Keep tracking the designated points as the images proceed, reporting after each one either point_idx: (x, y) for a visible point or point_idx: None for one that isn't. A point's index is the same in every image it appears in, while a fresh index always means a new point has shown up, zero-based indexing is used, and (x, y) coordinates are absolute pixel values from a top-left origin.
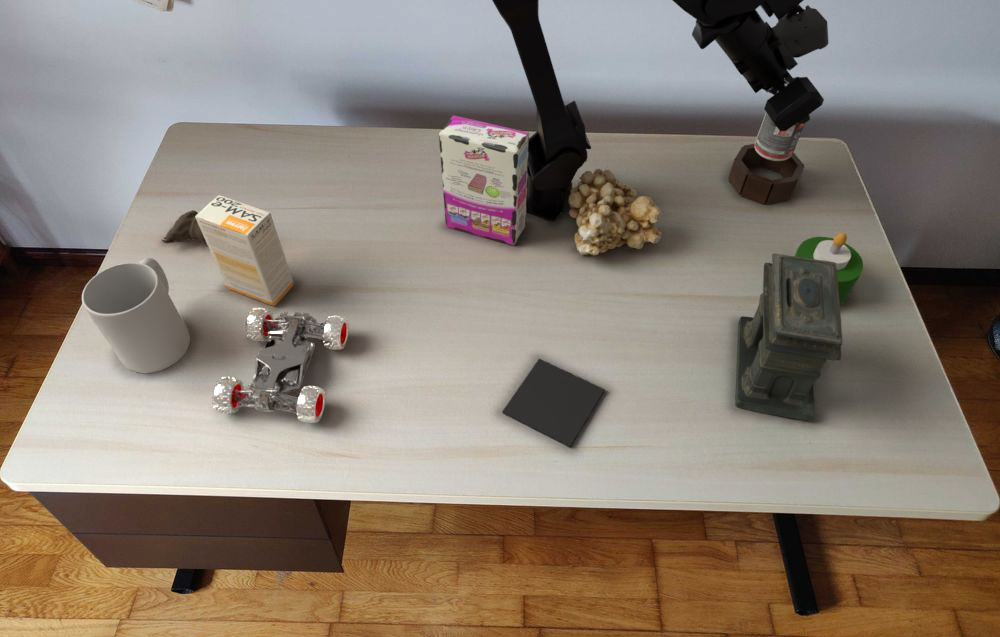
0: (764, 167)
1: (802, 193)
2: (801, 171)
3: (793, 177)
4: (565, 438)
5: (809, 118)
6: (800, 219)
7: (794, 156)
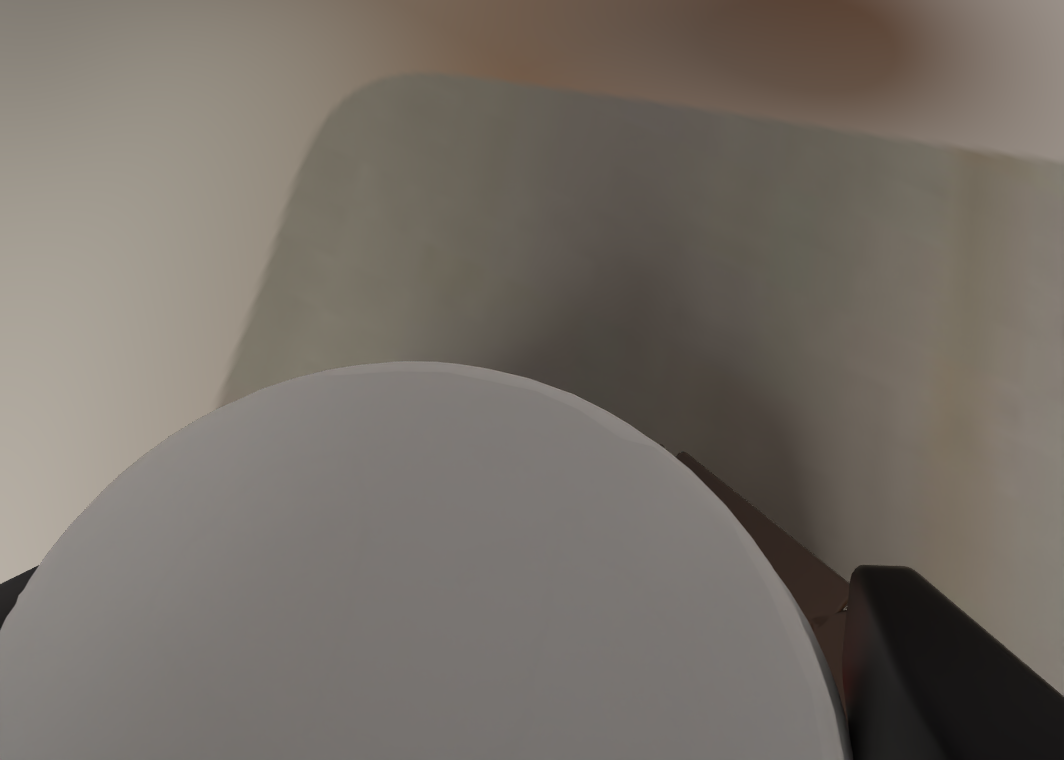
0: None
1: (754, 482)
2: (747, 508)
3: (822, 618)
4: None
5: (929, 588)
6: (1051, 630)
7: None
